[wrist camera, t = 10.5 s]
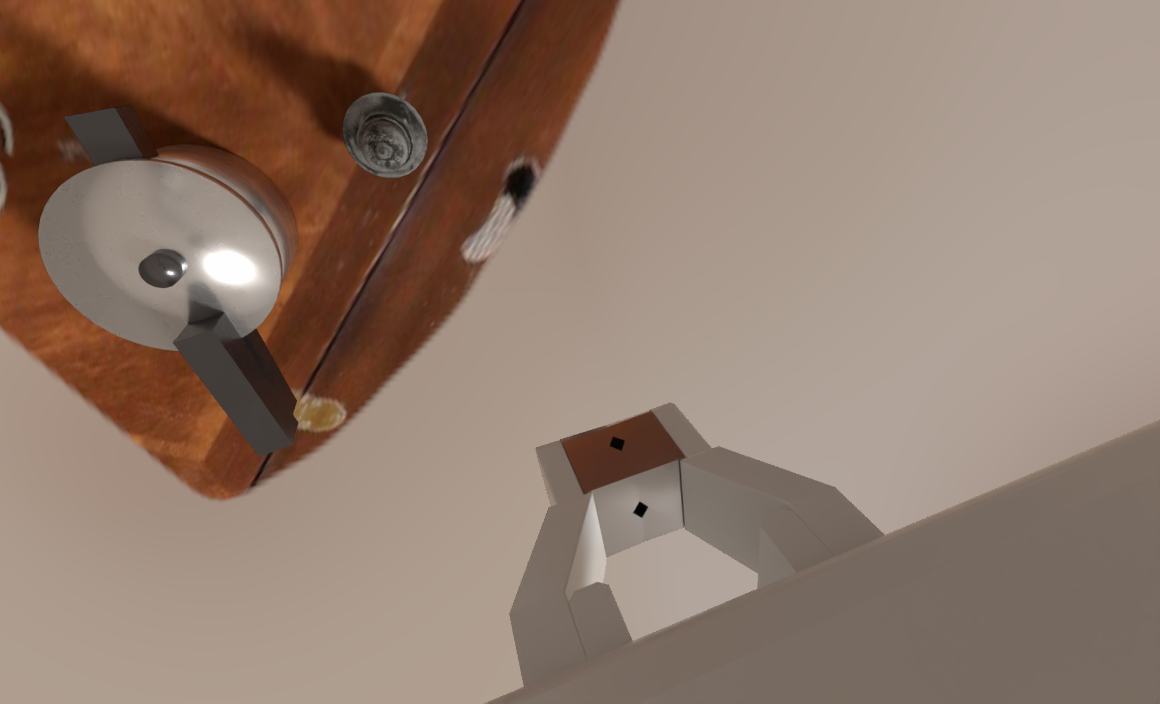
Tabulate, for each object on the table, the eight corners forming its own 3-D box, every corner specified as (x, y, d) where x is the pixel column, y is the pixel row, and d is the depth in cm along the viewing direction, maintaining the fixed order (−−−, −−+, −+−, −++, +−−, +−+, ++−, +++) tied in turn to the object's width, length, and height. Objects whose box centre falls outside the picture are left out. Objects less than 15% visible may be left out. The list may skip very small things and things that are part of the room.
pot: (47, 121, 35) (-35, 135, 28) (236, 86, 37) (201, 91, 30) (222, 391, 47) (194, 446, 40) (357, 353, 49) (352, 399, 42)
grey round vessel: (361, 176, 42) (350, 211, 32) (334, 96, 39) (313, 107, 29) (433, 163, 43) (445, 192, 33) (413, 84, 40) (419, 90, 30)
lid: (-9, 193, 29) (-58, 208, 26) (216, 133, 31) (196, 141, 28) (204, 449, 40) (187, 481, 37) (362, 393, 42) (359, 420, 39)
